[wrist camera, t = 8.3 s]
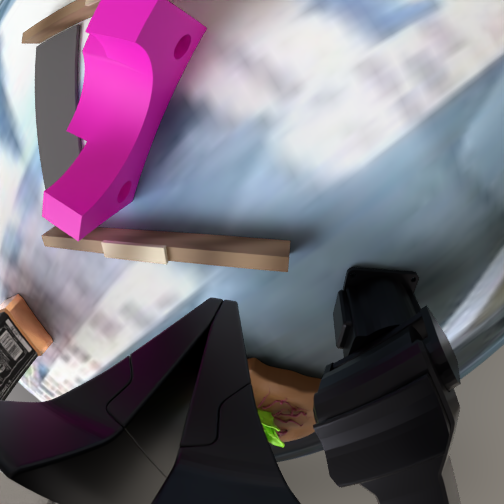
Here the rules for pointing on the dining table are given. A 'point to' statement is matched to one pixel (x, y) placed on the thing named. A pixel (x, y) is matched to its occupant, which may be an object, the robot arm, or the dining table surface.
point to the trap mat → (57, 103)
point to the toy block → (120, 107)
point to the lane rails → (146, 241)
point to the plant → (283, 401)
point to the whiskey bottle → (18, 342)
